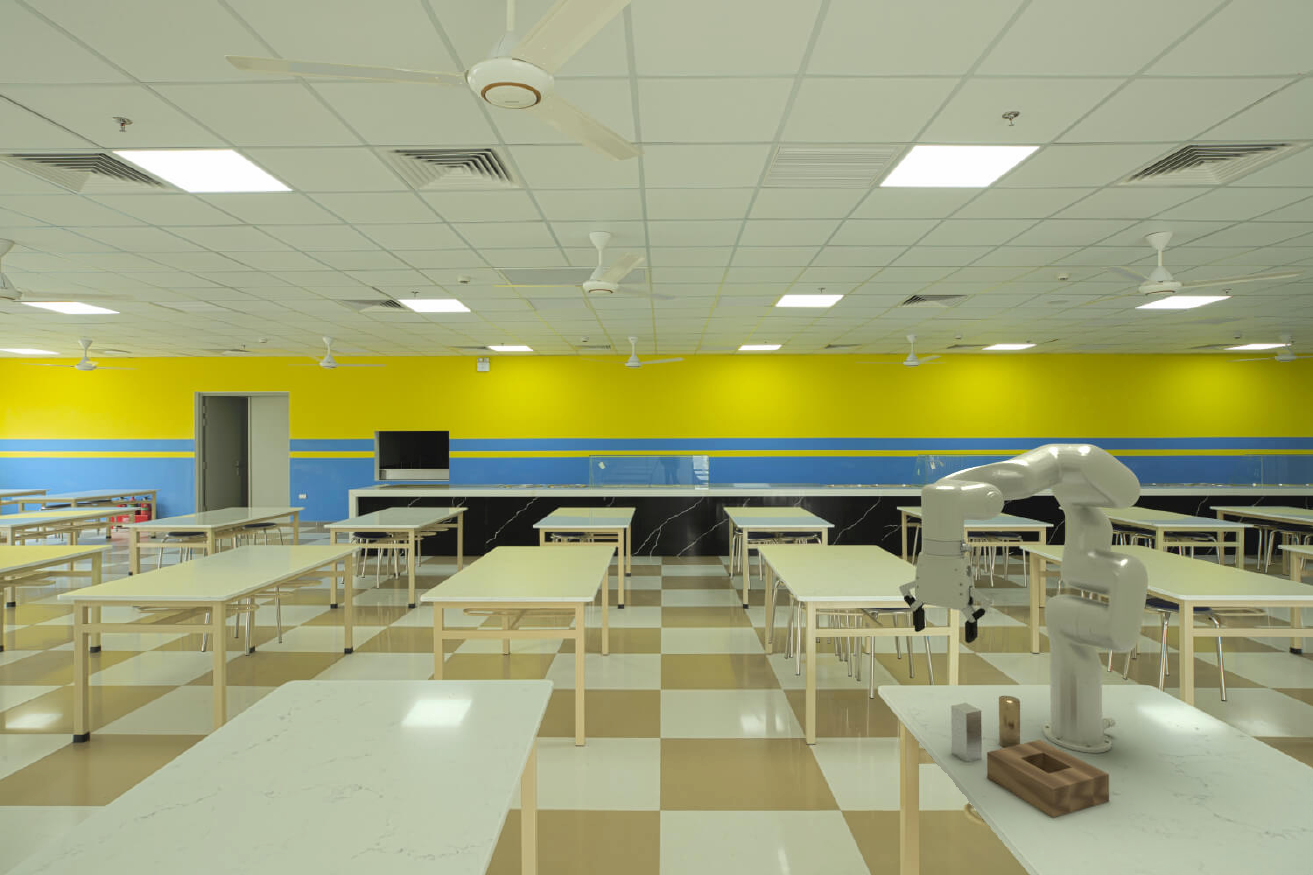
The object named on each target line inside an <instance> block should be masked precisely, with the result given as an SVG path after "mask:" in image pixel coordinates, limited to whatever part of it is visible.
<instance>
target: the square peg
mask: <svg viewBox="0 0 1313 875" xmlns="http://www.w3.org/2000/svg"><path fill="white" fill-rule="evenodd" d="M950 710H951V711H950V712H951V717H950V719H951V723H950V724H951V753H952V754H953V755H955V756H956V757H958V758H959V759H960V760H961V759H962V761H965V763H969V762H973V761H977V760H981V759H982V758H983V754H982V753H983V751H982V749H983V748H982V747H983V746H982V742H983V740H982V739H983V738H982V735H983V734H982V730H983V729H982V709H979V708H977V707H976V706H973V705H971V704H969V703H968V702H964V703H959V704H954V705H951V706H950Z"/></svg>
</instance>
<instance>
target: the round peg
mask: <svg viewBox="0 0 1313 875" xmlns="http://www.w3.org/2000/svg"><path fill="white" fill-rule="evenodd" d="M998 739H999V740H998V743H999V746H1000V747H1002V749H1003V748H1007V747H1011V746H1015V745H1019V744H1021V701H1020V699H1018V698H1017V697H1014V696H1010V695H999V697H998Z"/></svg>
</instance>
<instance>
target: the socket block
mask: <svg viewBox="0 0 1313 875" xmlns="http://www.w3.org/2000/svg"><path fill="white" fill-rule="evenodd" d="M986 766H987V767H986V772H987V774H986V775H987V776H986V778H987V779H990V781H992V782H994V783H995V784H998V785H999V786H1001V787H1002V788H1004V789H1005V790H1007V791H1008V792H1010V793H1012V794H1013V795H1016V796H1017V798H1018V797H1019V798H1020V799H1021V800H1023V801H1025V802H1027V803H1029V804H1030V805H1032V806H1034V807H1035V808H1037V809H1038V810H1040V811H1042V812H1043V813H1045V814H1046V815H1048V816H1050V817H1051V818H1056V817H1059V816H1060V817H1061V816H1064V815H1067V814H1071V813H1074V812H1079V811H1080V810H1084V809H1087V808H1090V807H1093V806H1098V805H1100V804H1105V803H1108V802H1109V801H1110V774H1109V773H1107V772H1105V771H1103V770H1101V769H1099V768H1098V767H1095V766H1093V765H1092V764H1089V763H1088V762H1085V761H1083V760H1082V759H1080V758H1077V757H1076V756H1073V755H1071V754H1069V753H1068V752H1065V751H1063V750H1061V749H1059V748H1057V747H1055V746H1053V745H1051V744H1049V743H1047V742H1045V741H1043V740H1041V739H1037V740H1032V741H1028V742H1023V743H1020V744H1019V745H1015V746H1011V747H1007V748H1003V747H1002V748H999V749H994V750H990V751H987V752H986Z"/></svg>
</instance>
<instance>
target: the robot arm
mask: <svg viewBox="0 0 1313 875" xmlns="http://www.w3.org/2000/svg"><path fill="white" fill-rule="evenodd" d="M1049 488H1050V490H1051V493H1052V494H1053V496H1054V498H1055V499H1056V501H1057V502H1058V504H1059V505H1060V507H1061V510H1063V513H1064V516H1065V519H1066V533H1065V540H1064V546H1063V552H1062V557H1061V562H1060V564H1061V565H1060V579H1061V580H1062V582H1063V583H1064V584H1065V585H1066V586H1067V587H1070V588H1072V589H1075V590H1079V591H1083V592H1087V593H1092V594H1097V595H1101V596H1105V597H1108V602H1105V601H1101V600H1096V599H1093V598H1088V597H1084V596H1079V595H1074V594H1065V593H1062V594H1057V595H1054V596H1052V597H1051V598H1049V599H1048V601H1047V602H1046V603H1045V606H1044V612H1043V615H1044V622H1045V623H1044V624H1045V627H1046V631H1047V635H1048V636H1047V637H1048V642H1049V661H1050V662H1049V666H1050V667H1049V671H1050V672H1049V673H1050V674H1049V678H1050V681H1049V684H1050V690H1049V691H1050V695H1049V696H1050V698H1049V699H1050V722H1047V723H1045V724H1043V726H1042V734H1043V736H1044V737H1045V738H1046V739H1047V740H1048V741H1050V742H1051V743H1054V744H1055V745H1057V746H1059V747H1061V748H1065V749H1068V750H1073V751H1078V752H1081V753H1089V754H1091V753H1092V754H1100V753H1105V752H1107V751H1109V750H1111V749H1112V741H1111V738H1109V736H1107V735H1106V734H1105V731H1106V730H1107V729H1109V728H1112V727H1115V726H1116V721H1115V720H1114V718H1112V717H1105V718H1103V668H1102V667H1103V666H1102V661H1101V658H1100V654H1099V652H1098V650H1097V648H1100V649H1104V650H1107V651H1110V652H1116V653H1129V652H1131V651H1132V650H1133V649H1135V647H1136V646H1137V644H1138V642H1139V639H1140V637H1141V636H1140V635H1141V632H1142V624H1143V620H1144V612H1145V607H1146V600H1147V594H1148V588H1149V577H1148V576H1149V575H1148V572H1147V569H1146V566H1145V565H1144V562H1142V560H1141V559H1139V558H1138V557H1136V556H1134V555H1131V554H1127V553H1123V552H1117V551H1112V542H1113V535H1114V528H1113V525H1112V522H1111V521H1110V518H1109V517H1108V515H1107V514H1106V512H1105V511H1104V510H1103V508H1106V509H1113V510H1114V509H1115V510H1120V509H1121V510H1124V509H1128V508H1130V507H1132V506H1134V505H1135V504H1136V503H1137V501H1138V500H1139V499H1140V496H1141V484H1140V481H1139V479H1138V477H1137V476H1136V474H1135V473H1134V471H1132V469H1130V468H1129V467H1128V466H1126V465H1125V464H1124V463H1123V462H1121V461H1120V460H1118V459H1117V458H1116V457H1114V456H1113V455H1112V454H1111V453H1109V452H1107V451H1106V450H1105V449H1104V448H1103V449H1102V448H1101V447H1099V446H1097V445H1094V444H1089V443H1047V444H1044V445H1041V446H1038V447H1036V448H1033V449H1031V450H1029V451H1026V452H1024V453H1022V454H1019V455H1016V456H1014V457H1012V458H1010V459H1007V460H1003V461H1002V460H1001V461H997V462H993V463H989V464H985V465H980V466H975V467H971V468H966V469H963V470H958V471H956V472H953V473H951V474H948V475H946V476H943V477H941V478H940V479H938V480H936V481H935V482H933V483H929V484H926V485H923V487H922V488H921V492H920V493H921V494H920V499H921V502H920V503H921V505H920V506H921V507H920V508H921V509H920V510H921V551H920V552H919V553H918V557H917V560H916V561H917V562H916V567H915V568H916V569H915V578H914V580H912V581H910V582H907V583H905V584H901V585H900V586H899V590H900V593H901V595H902V597H903V600H904V602H905V603H906V604H907V605H908V607H909V609H910V611H911V612H912V625H913V626H914V632H916V633H920V632H921V631H924V629H925V628H926V616H925V613H926V612H925V611H926V610H925V609H924V608H923V607H924V606H925V605H928V606H933V607H937V608H938V607H940V608H944V609H948V610H949V609H950V610H954V611H955V610H956V611H960V612H961V613H962V614H963V616H965V618H966V621H965V622H964V628H965V629H964V640H965V643H966V644H971V643H973V642H974V641H976V639H977V638H978V633H979V632H978V631H979V630H978V620H980V618H982V617H984V616H985V615H986V614H987V613H988V611H989V609H990V608H991V606H992V605H993V599H992V598H990V597H988V596H986V595H985V594H983V593H982V592H980V591H979V590H977V589H976V588H975V580H974V578H975V577H974V572H973V568H972V562H971V559H970V558H971V557H970V556H969V555H965V554H966V553H971V552H973V551H972V550H973V545H972V544H968V543H966V539H965V521H967V520H969V521H990V520H992V519H994V518H996V517H997V516H999V515H1000V514H1001V512H1002V510H1003V509H1004V505H1005V501H1012V500H1013V501H1014V500H1022V499H1028V498H1031V497H1033V496H1034V495H1036V494H1038V493H1040V492H1043V491H1045V490H1047V489H1049ZM913 589H914V596H915V597H914V596H913V595H912V594H911V591H910V590H913ZM976 601H978V603H980V606H979V608H978V609H977V610H976V608H975V606H974V605H975V603H976ZM1096 647H1097V648H1096Z"/></svg>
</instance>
